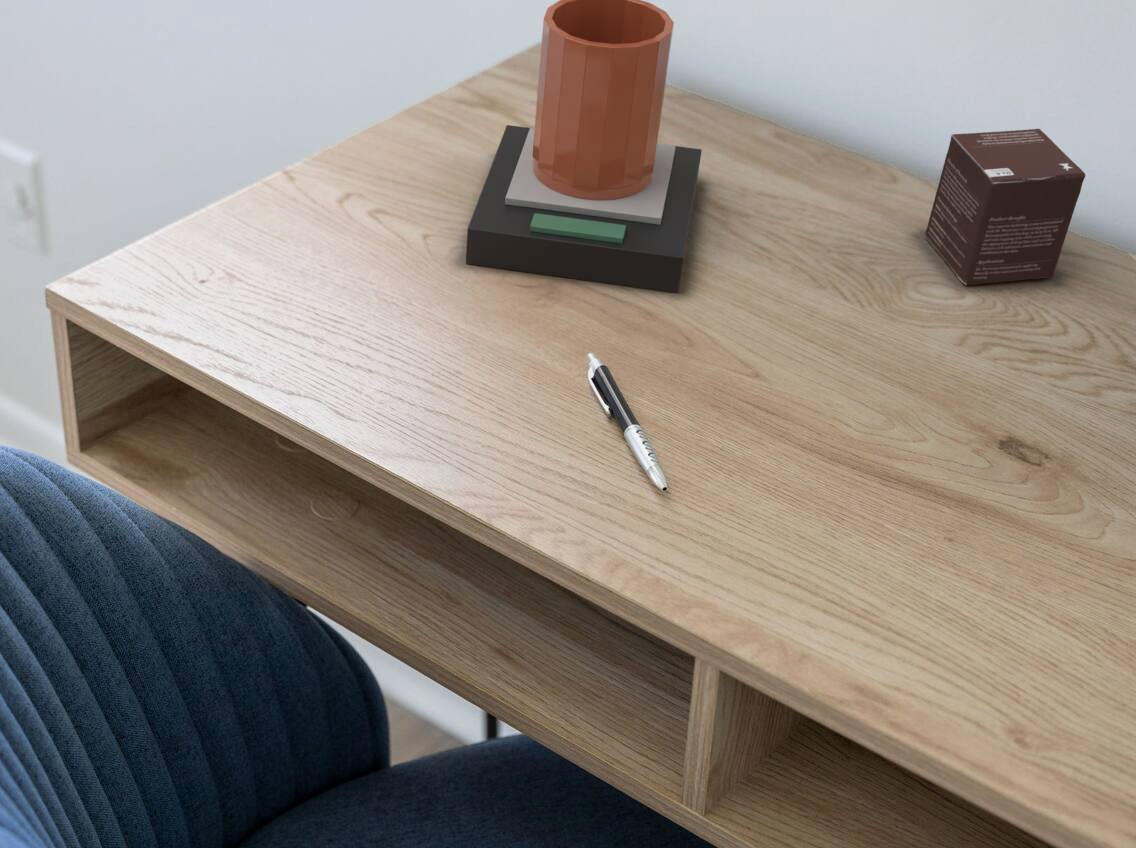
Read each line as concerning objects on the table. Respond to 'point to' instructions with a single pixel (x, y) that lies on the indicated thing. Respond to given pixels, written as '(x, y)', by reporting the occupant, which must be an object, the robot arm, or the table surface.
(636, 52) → the cup
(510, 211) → the scale
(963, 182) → the box
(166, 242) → the table surface
